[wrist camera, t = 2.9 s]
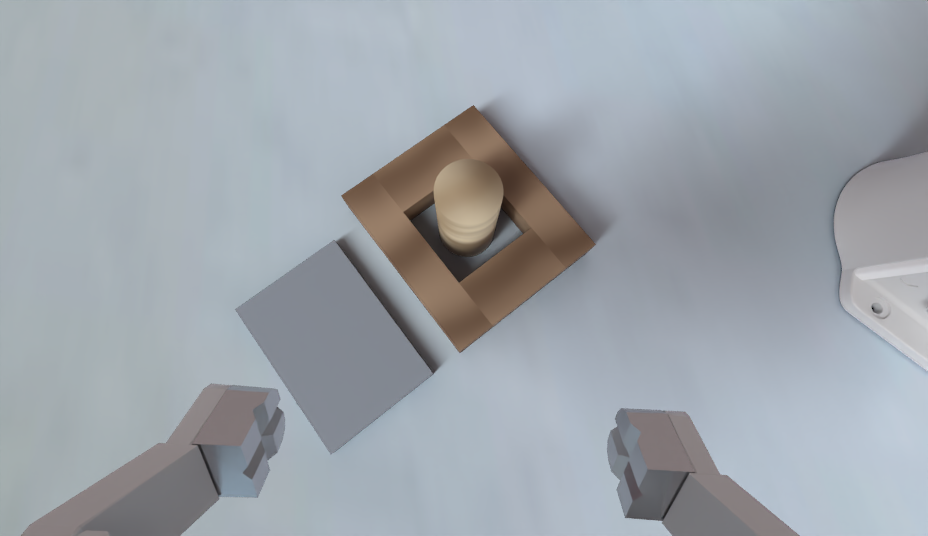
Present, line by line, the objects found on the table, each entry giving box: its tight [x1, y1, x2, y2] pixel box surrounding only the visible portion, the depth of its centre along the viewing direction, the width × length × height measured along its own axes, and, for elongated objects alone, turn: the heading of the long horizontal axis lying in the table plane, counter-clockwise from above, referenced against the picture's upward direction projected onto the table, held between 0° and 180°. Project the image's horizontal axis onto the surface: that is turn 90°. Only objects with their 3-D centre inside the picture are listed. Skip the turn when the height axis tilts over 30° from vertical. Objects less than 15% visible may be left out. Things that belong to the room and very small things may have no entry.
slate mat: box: [235, 240, 434, 454], centre depth 33 cm, size 13×9×1 cm
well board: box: [341, 105, 596, 353], centre depth 34 cm, size 15×13×2 cm
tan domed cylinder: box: [434, 159, 504, 257], centre depth 32 cm, size 4×4×8 cm
